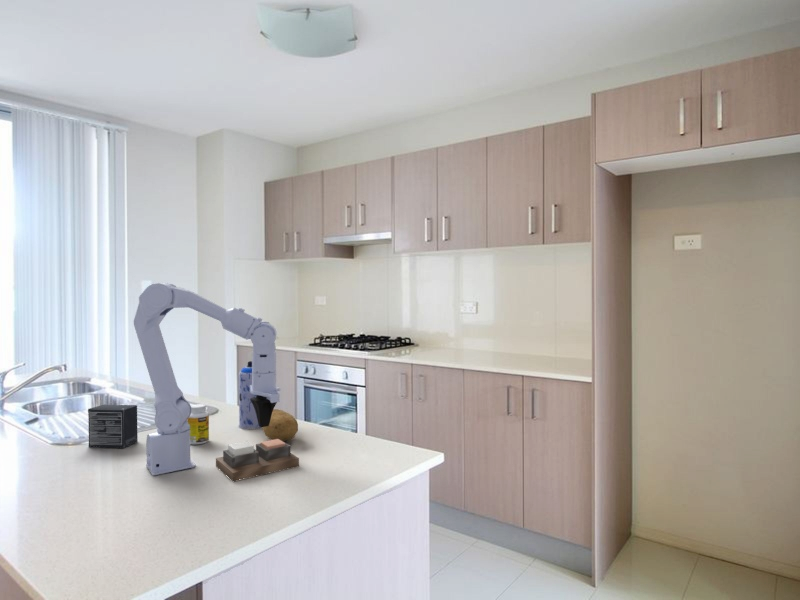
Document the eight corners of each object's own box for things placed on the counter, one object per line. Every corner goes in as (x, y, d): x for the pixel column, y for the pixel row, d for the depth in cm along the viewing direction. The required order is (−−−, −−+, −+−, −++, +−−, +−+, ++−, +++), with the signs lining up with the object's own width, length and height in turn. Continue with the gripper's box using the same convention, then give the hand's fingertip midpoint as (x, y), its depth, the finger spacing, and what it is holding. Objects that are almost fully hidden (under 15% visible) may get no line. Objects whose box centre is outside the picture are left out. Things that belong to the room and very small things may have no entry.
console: (232, 481, 112) (232, 462, 112) (215, 466, 121) (215, 448, 121) (299, 466, 122) (298, 448, 121) (278, 453, 131) (278, 436, 131)
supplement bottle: (198, 446, 136) (197, 408, 136) (182, 443, 139) (182, 406, 138) (213, 440, 142) (213, 404, 141) (198, 438, 144) (198, 402, 143)
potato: (273, 450, 133) (272, 420, 133) (255, 437, 145) (254, 409, 145) (307, 443, 139) (306, 414, 139) (287, 431, 151) (287, 404, 150)
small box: (139, 441, 141) (138, 404, 141) (124, 449, 134) (123, 409, 134) (103, 440, 142) (103, 403, 142) (87, 447, 135) (86, 408, 135)
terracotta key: (268, 455, 121) (268, 446, 121) (260, 450, 124) (260, 442, 124) (285, 451, 123) (285, 443, 123) (278, 446, 127) (277, 438, 127)
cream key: (234, 458, 116) (234, 449, 116) (228, 452, 119) (228, 444, 119) (253, 454, 118) (253, 445, 118) (246, 449, 122) (246, 441, 122)
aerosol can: (238, 423, 159) (238, 360, 159) (264, 421, 161) (264, 359, 161) (238, 430, 152) (238, 364, 151) (265, 428, 154) (265, 363, 153)
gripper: (291, 374, 121) (291, 430, 122) (268, 366, 133) (268, 417, 133) (263, 377, 117) (263, 435, 117) (241, 368, 129) (241, 421, 129)
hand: (263, 426), depth 125 cm, fingers closed
